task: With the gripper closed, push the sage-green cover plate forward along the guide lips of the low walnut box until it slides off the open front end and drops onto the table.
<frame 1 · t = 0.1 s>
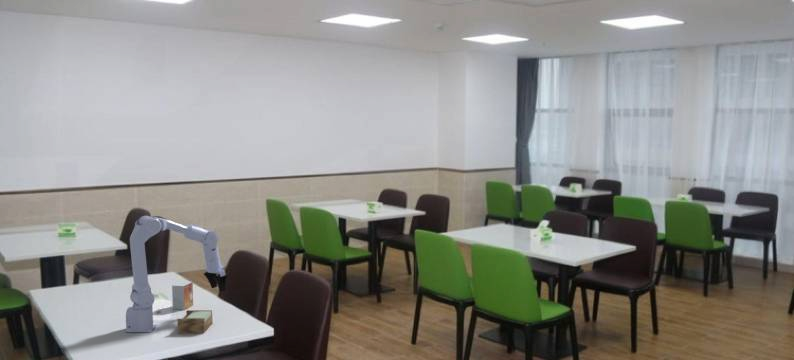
hand: (218, 289, 277), 11 cm above the table, tool pointing down, fingers open, 7 cm apart
walnut box: (195, 328, 259), on the table
cover plate: (199, 318, 259), point 4 cm above the table, touching walnut box
small box: (183, 307, 288), on the table
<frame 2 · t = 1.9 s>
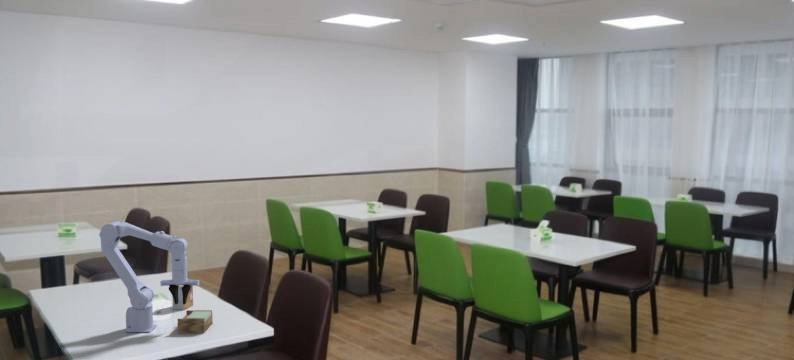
hand: (180, 303, 258), 10 cm above the table, tool pointing down, fingers closed
nothing on the table moved.
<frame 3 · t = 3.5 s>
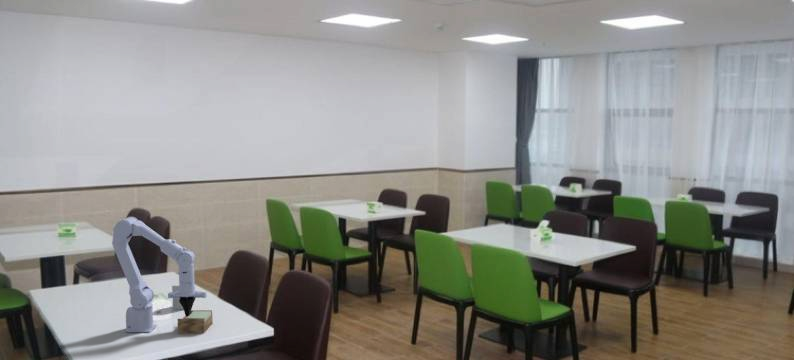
hand: (188, 315, 259), 5 cm above the table, tool pointing down, fingers closed
cover plate: (199, 318, 259), point 4 cm above the table, touching gripper, walnut box
everything else where it was.
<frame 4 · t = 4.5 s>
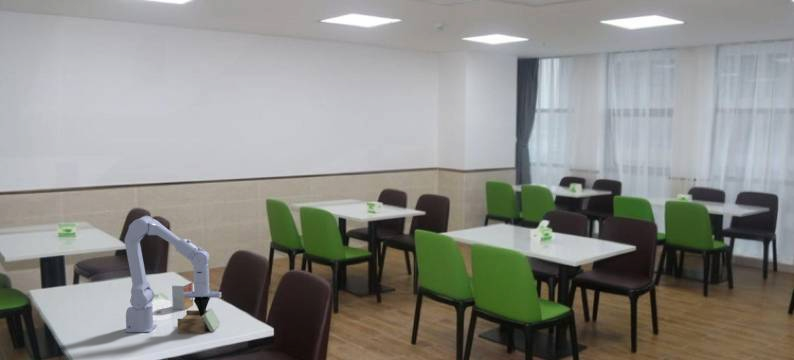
hand: (202, 315, 259), 5 cm above the table, tool pointing down, fingers closed
cover plate: (209, 320, 259), point 3 cm above the table, tilted 62°, touching gripper
everything else where it was.
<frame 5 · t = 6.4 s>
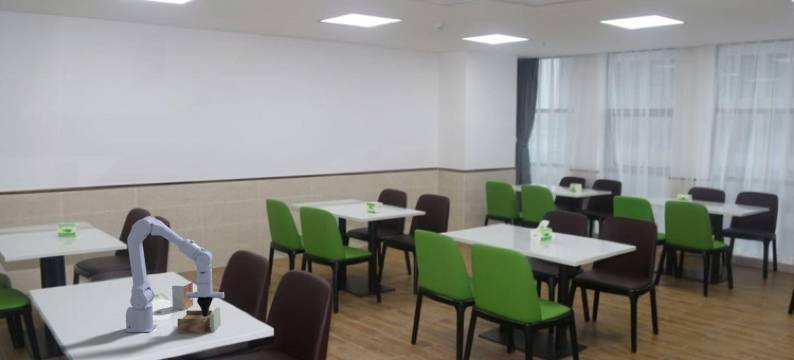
hand: (205, 316, 259), 5 cm above the table, tool pointing down, fingers closed
cover plate: (213, 319, 259), point 3 cm above the table, tilted 89°
everything else where it was.
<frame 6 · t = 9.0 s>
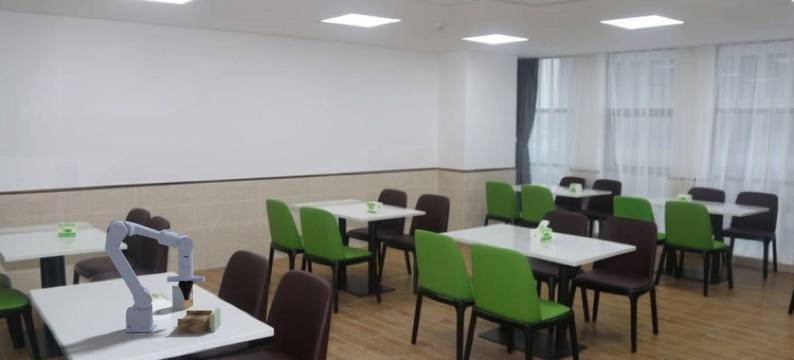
hand: (186, 299, 264), 10 cm above the table, tool pointing down, fingers closed
nothing on the table moved.
at the end: cover plate inside the target area (6.1 cm from its centre), point 3.4 cm above the table; cover plate touching table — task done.
